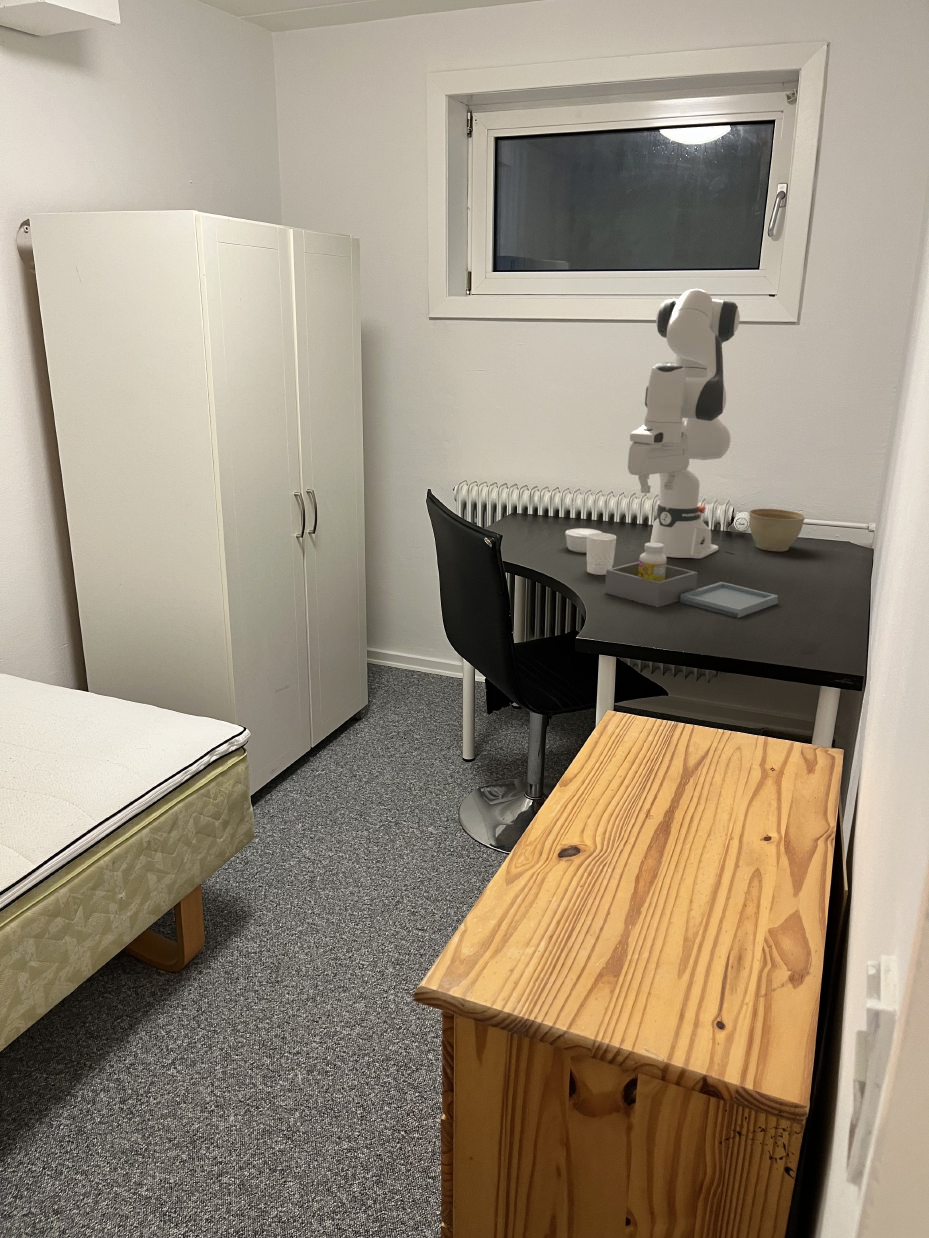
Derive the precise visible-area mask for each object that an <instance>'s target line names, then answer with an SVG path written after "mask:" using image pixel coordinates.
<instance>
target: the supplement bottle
mask: <svg viewBox="0 0 929 1238" xmlns="http://www.w3.org/2000/svg"><path fill="white" fill-rule="evenodd" d="M663 550H664V545H663V544H661V543H654V542H651V543H650V542H645V544H644V552H643V553H641V554H640V555H639V559H638V560H639V561H638V562H639V570H638V577H642V578H646V579H649V580H653V581H657V582H659V581H663V580H665V571H666V565H667V559H668V558H667V556H665V555H664V554H662V551H663Z"/></svg>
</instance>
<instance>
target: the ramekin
mask: <svg viewBox="0 0 929 1238" xmlns="http://www.w3.org/2000/svg"><path fill="white" fill-rule="evenodd" d="M591 533H603V532H602V531H600V530H598V529H593V528H581V527H580V528H572V529H567V530H566V531H565V534H564V535H565V538H566V546H567V548H568V550H570V551H571V552H574V553H583V554H584V553H586V554H587V535H588V534H591Z"/></svg>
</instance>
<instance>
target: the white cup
mask: <svg viewBox="0 0 929 1238" xmlns="http://www.w3.org/2000/svg"><path fill="white" fill-rule="evenodd" d="M616 543H617V535H615V534H612V533H605V532H602V533H591V534H588V535H587V553H586V572H587V573H589V574H593V575H597V576H598V575H599V576H604V575H605V576H606V570H608V569H611V568H613V564H614V559H615V551H616V545H617V544H616Z"/></svg>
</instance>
